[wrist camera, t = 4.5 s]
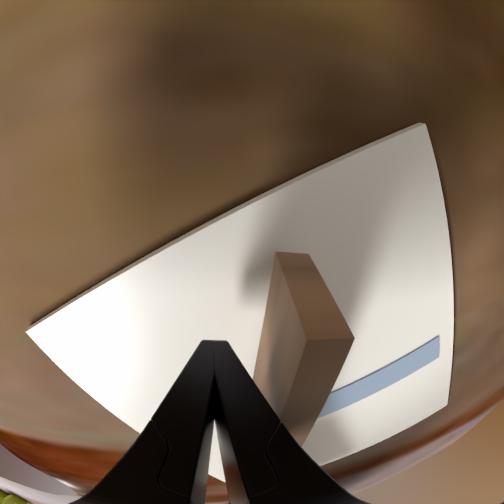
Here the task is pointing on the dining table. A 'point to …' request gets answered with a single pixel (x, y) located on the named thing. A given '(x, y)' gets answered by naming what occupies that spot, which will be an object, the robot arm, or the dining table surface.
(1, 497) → the dumbbell
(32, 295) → the dining table surface
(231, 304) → the card
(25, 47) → the dining table surface
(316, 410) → the fold panel
